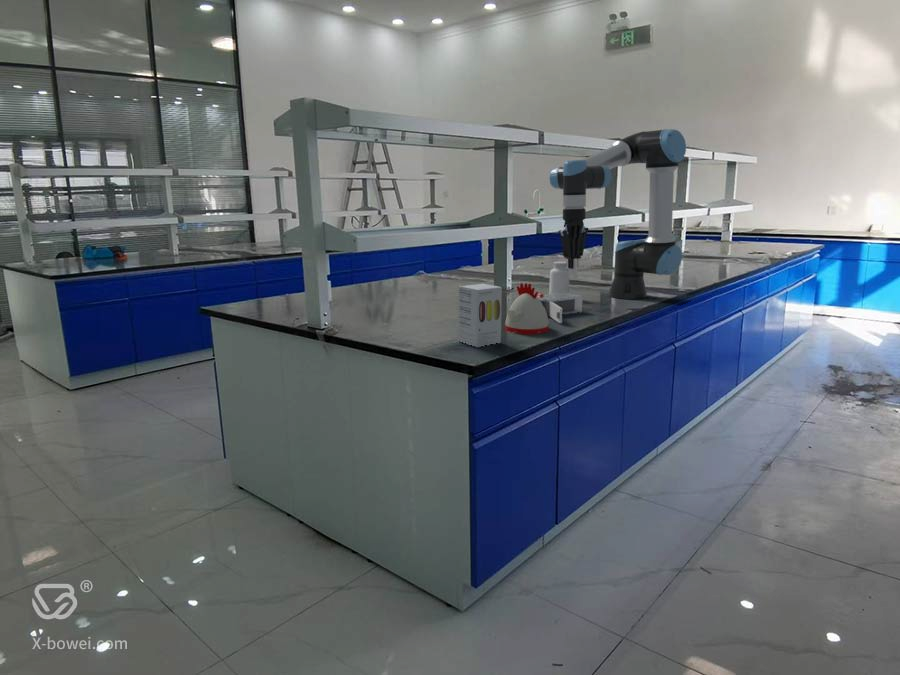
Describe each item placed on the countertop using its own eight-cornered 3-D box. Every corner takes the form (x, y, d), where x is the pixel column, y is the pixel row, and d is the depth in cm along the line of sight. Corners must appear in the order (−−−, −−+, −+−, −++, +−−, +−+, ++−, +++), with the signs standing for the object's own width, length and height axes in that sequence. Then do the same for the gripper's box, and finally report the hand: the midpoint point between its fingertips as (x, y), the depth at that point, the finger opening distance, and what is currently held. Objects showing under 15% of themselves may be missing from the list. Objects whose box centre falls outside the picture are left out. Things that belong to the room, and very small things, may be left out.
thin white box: (562, 323, 202) (563, 307, 200) (557, 323, 201) (558, 308, 200) (551, 316, 214) (552, 301, 212) (547, 316, 214) (547, 301, 212)
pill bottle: (568, 300, 243) (570, 263, 240) (548, 300, 245) (549, 263, 241) (569, 297, 251) (570, 261, 247) (549, 296, 252) (550, 260, 249)
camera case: (564, 307, 229) (565, 290, 228) (582, 312, 221) (582, 294, 219) (523, 312, 221) (524, 294, 219) (540, 317, 212) (541, 298, 211)
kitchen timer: (524, 322, 205) (525, 278, 201) (557, 329, 195) (558, 283, 192) (496, 329, 196) (496, 283, 192) (529, 336, 186) (530, 288, 182)
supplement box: (476, 348, 173) (476, 289, 169) (457, 341, 180) (457, 285, 176) (502, 343, 179) (502, 286, 174) (482, 337, 186) (482, 282, 182)
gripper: (578, 206, 210) (576, 274, 216) (552, 208, 202) (551, 278, 208) (595, 207, 204) (593, 276, 210) (570, 209, 196) (568, 281, 202)
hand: (572, 277), depth 209 cm, fingers closed
